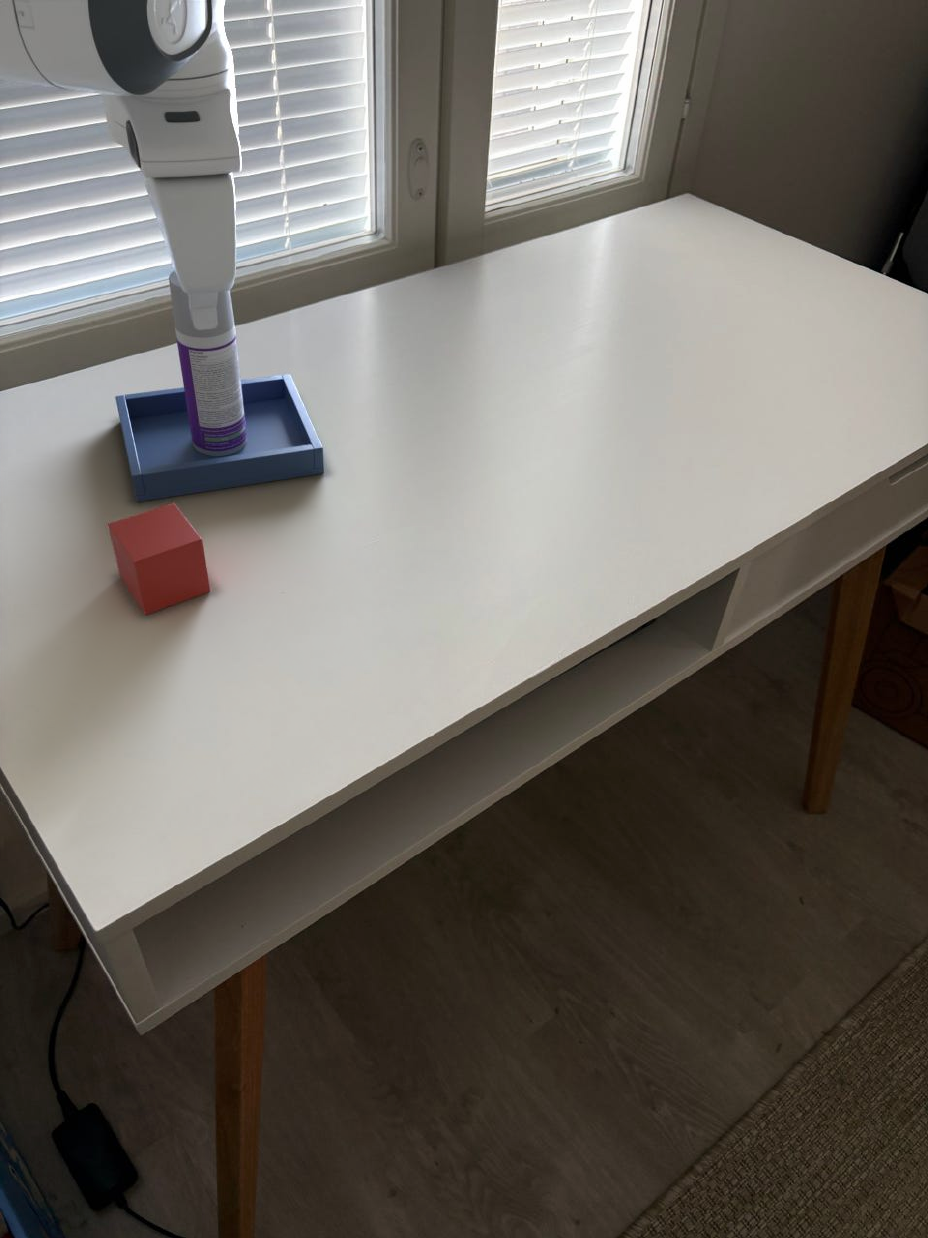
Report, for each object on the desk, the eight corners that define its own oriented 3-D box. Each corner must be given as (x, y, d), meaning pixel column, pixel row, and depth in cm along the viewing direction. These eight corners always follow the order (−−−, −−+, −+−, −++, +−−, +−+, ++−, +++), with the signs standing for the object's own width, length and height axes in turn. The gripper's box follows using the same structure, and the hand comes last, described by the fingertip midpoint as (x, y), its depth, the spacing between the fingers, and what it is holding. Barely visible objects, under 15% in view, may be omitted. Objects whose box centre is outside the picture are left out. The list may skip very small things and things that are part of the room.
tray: (136, 502, 82) (131, 476, 80) (120, 421, 91) (114, 395, 89) (324, 473, 87) (323, 447, 85) (291, 398, 95) (289, 373, 93)
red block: (145, 615, 73) (134, 562, 69) (119, 576, 76) (107, 523, 72) (210, 591, 75) (202, 538, 71) (182, 554, 78) (173, 502, 74)
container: (192, 427, 89) (168, 263, 79) (246, 425, 90) (229, 262, 80) (192, 457, 86) (165, 290, 76) (247, 454, 87) (229, 288, 77)
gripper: (108, 66, 76) (136, 247, 85) (143, 160, 62) (172, 364, 71) (193, 64, 78) (212, 241, 87) (245, 155, 64) (261, 354, 73)
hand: (194, 297), depth 79 cm, fingers open, 8 cm apart
